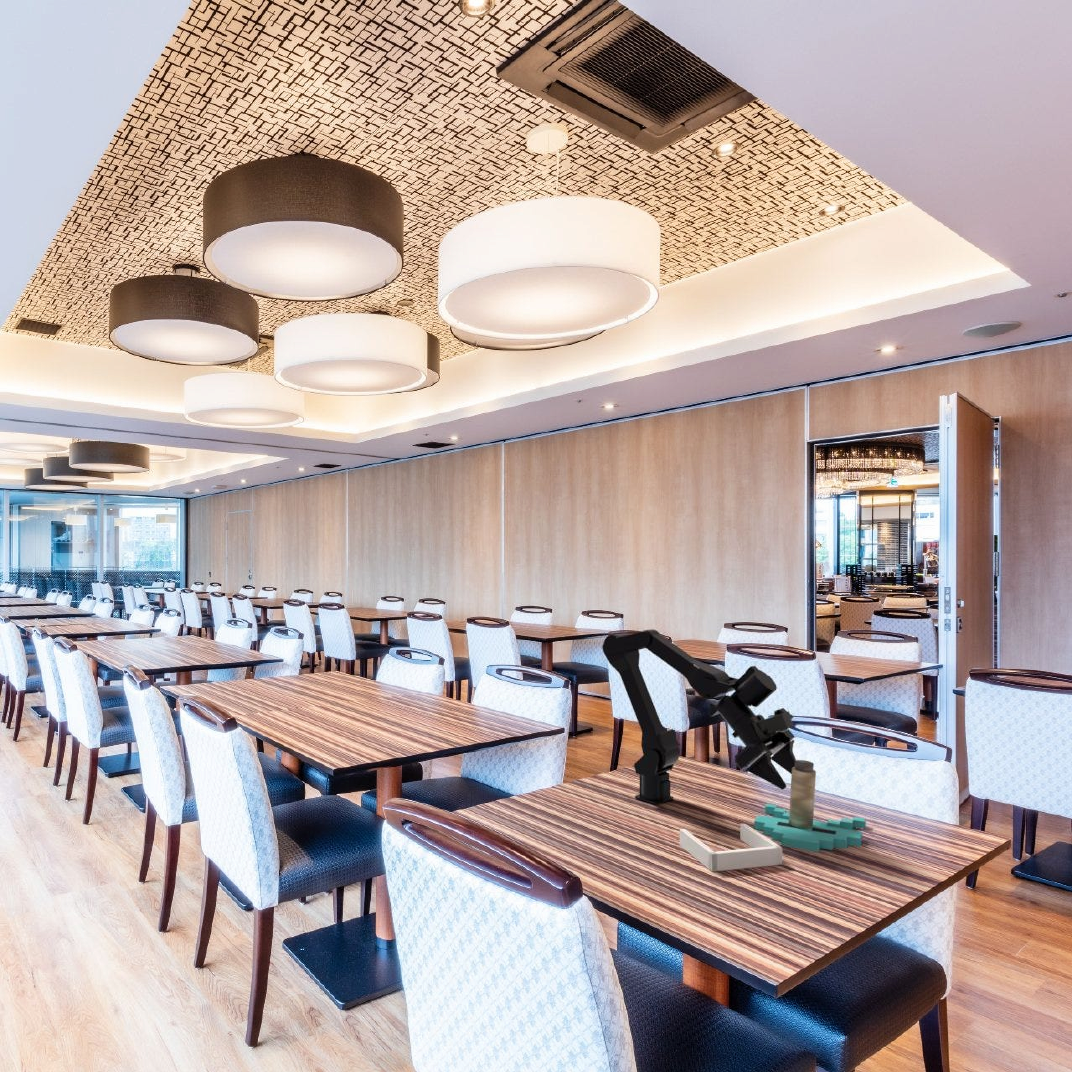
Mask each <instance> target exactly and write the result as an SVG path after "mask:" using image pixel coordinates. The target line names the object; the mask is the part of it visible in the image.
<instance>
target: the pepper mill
mask: <svg viewBox="0 0 1072 1072" xmlns="http://www.w3.org/2000/svg"><path fill="white" fill-rule="evenodd" d="M814 767H815V765H814V763H813V761H809V760H805V759H804V760H803V759H796V760H795V767H792V774H790V775H791V778H790V792H789V793H790V795H789V796H790V798H789V809H788V810H789V811H788V813H789V824H790V825H792V826H794V827H797V828H803V829H810V828H812V827H813V820H814V812H815V793H816V777H817V771H816V770H815V769H814Z"/></svg>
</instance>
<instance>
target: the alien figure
mask: <svg viewBox="0 0 1072 1072" xmlns="http://www.w3.org/2000/svg"><path fill="white" fill-rule="evenodd" d="M764 813H765V814H766V815H761V814H758V815H757V817H756V818H755V819H754V821H753V824H754V825H753V829H754V830H757V831H762V835H764V836H765V835H767V836H771V837H772V839H771V841H778V842H781V846H782V847H789V848H795V849H801V850H806V851H812V852H816V853H817V852H820V849H823V850H829V851H833V849H834V848H835V847H837V848H840V849H841V848H842V849H847V847H848V846H854V847H861V844H862V841H863V839H862V838H863V831H860V830H854V827H857V828H856V829H860V828H863V829H862V830H865V829H866V827H865V826H866V824H867V822H866V820H867V819H866V818H864V817H858V816H853V819H849V818H844V817H841V818H840V820H835V819H827V820H828V821H827V822H825V821H820V820H814V819H813V827H812V828H810V829H803V828H797V827H794V826H792V825H790V824H789V812H787V809H785V808H780V807H779V808H778V804H774V803H773V804H772V803H769V802H767V803H766V804H765V806H764ZM767 815H773V816H767Z"/></svg>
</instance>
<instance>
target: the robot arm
mask: <svg viewBox="0 0 1072 1072" xmlns="http://www.w3.org/2000/svg"><path fill="white" fill-rule="evenodd" d="M601 648H602V652H603V654H604V655H605V658H606V660H607V661H608V663H609V665H610V666H611V667H613V668H614V670H615V671H617V673H618V674H619V676H620V679H621V681H622V684H623V687H624V689H625V691H626V694H627V696H628V697H627V698H628V699H629V702H630V704H631V706H632V710H633V712H634V715H635V718H636V720H637V722H638V725H639V728H640V731H641V744H640V746H641V751H642V756H641V757H640V758H638V759H637V761H635V762H634V764H633V767H634V771H635V774H637V775H639V793H638V794H636V795H634V798H635V799H637V800H640V801H642V802H643V801H644V802H647V803H649V804H653V805H660V804H662V803H665V802H669V801H671V800H674V796H672V795H671V780H670V773H669V771H672V770H673V767H674V765H675V764H676V763H677V762H678V760H679V758H680V755H681V750H680V747H681V744H680V743H679V741H678V739H677V736H676V732H675V730H674V729H669V730H668V729H666V727H664V725H663V723H662V721H661V719H660V717H659V715H658V712H657V710H656V707H655V705H654V701H653V699H652V697H651V694H650V692H649V689H648V686H647V684H646V682H645V679H644V676H643V674H642V672H641V669H640V650H644V649H647V651H649V652H650V653H652V654H653V655H654V656H656V657H658V658H659V659H660V660H662V662H664V663H665V664H667V665H668V666H669V667H671V668H673V670H675V671H677V672H678V673H679V674H681V675H682V676H683V677H685V679H686V680H687V682H688V684H689V686H690V687H691V688H692V689H693V691H695V692H696V693H697V694H698V696H700V697H701V698H703V699H705V700H712V699H715V698H719V697H721V699H719V700H718V701H717V702H711V703H709V713H708V716H709V717H715V716H716V715H719V714H720V715H721V717H722V718H723V719H724V721H725V722H726V723H727V724H728V726H729V727H730V729H732V731H733V732H732V733H731V736H733V738H734V739H737V738H739V740H740V741H741V742H742V744H744V746H745V747H743V748H742V749H741V750H739V752H737V754H735V755H734V763H735V765H737V767H738V769H740V771H742V770H744V771H745V772H746V773H748V772H749V773H751V774H752V775H754V776H756V777H758V778H761V779H762V780H764V781H766V782H767V783H770V784H771V785H773V786H775V787H777V788H779V789H780V790H782V791H783V790H785V789H786V788H787V784H786V783H785V781H784V779H783V778H782V776H781V774H780V773H779V771H778V770H777V768H776V767H775V766H774V764H773V762H774V763H776V764H777V765H778V766H780V767H781V768H783V770H785V771H786V772H788V773H789V774H790V775H792V767H795V760H797V759H796V756H795V754H794V751H793V748H794V743H795V739H794V738H796V736H795V735H794V734H793V732H792V731H791V730H790V728H792V727H794V726H795V725H794V723H793V721H792V719H793V718H794V716H793V714H791V713H790V711H787V710H786V708H784V707H782V708H780V709H779V708H778V709H777V710H774V712H773V716H770V717H767V718H764V716H763V715H761V714H760V713H759V714H755V712H754V711H753V710H752V709H751V706H752V707H754V708H758V707H759V706H760V705H761V704H762V703H764V702H765V701H766V700H767V699H768V698H769V697H770V696H771V695H772V694H773V693H775V691H776V690H777V689H778V687H777V684H776V682H775V681H774V679H773V678H772V676H770V675H768V674H767V673H766V672H764V671H763V670H761V669H759V668H758V667H757V666H756V665H751V666H749V667H748V668H747V669H746V671H744V673H743V674H742V675H741V676H740V677H739V678H738V677H737V678H736V677H733V676H729V674H728V673H727V672H725V671H724V670H722V669H720V668H718V667H715V666H714V665H711V664H709V663H704V662H701V661H699V660H698V659H696V658H695V657H693V656H691V654H688V653H687V652H686V651H685V650H683V649H681V648H680V647H679V646H677V645H676V644H675V643H673V642H672V641H670V640H669V639H667V637H665V636H663V635H661V633H660V632H659V631H658V630H656V629H652V628H651V629H644V630H642V631H639V632H636V633H631V634H630V633H626V632H625V633H617V634H609V635H607V636H606V637H605V639H604V640H603V643H602V647H601ZM729 692H730V693H731V692H733V693H732V694H730V695H726V694H728V693H729ZM722 696H723V697H722ZM772 761H773V762H772Z"/></svg>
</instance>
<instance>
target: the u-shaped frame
mask: <svg viewBox="0 0 1072 1072" xmlns="http://www.w3.org/2000/svg"><path fill="white" fill-rule="evenodd" d="M739 824H740V828H739V829H740V830H739V832H740V833H739V834H740V840H741V841H742V842H743V843H745V844H746V845H747V846H749V848H740V849H729V850H720V851H714V850H713V849H712V848H711V847H709V846H708V845H706V844H705V843H704V842H702V841H701V840H700V839H698V838H697V837H696V836H695V835H694V834H692V833H691V832H689V831H688V830H687V829H685V828H680V829H679V846H680V847H681V848H683V849H684V850H685V851H686V852H687V853H688V854H690V855H691V856H692V857H693V858H695V860H697V861H698V862H699V863H701V864H702V865H703V866H705V868H707V869H708V870H709V871H711V873H712V872H721V871H730V870H731V871H733V870H741V869H751V868H761V867H769V866H770V867H771V866H772V867H773V866H779V865H783V846H782V845H781V846H780V845H779V844H778V843H776V842H774V840H772V839H769V837H767V836H765V834H763V833H761V832H759V831H758V830H757V829H754V827H753V828H752V827H751V826H749V825H748V824H746V823H739Z"/></svg>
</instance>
